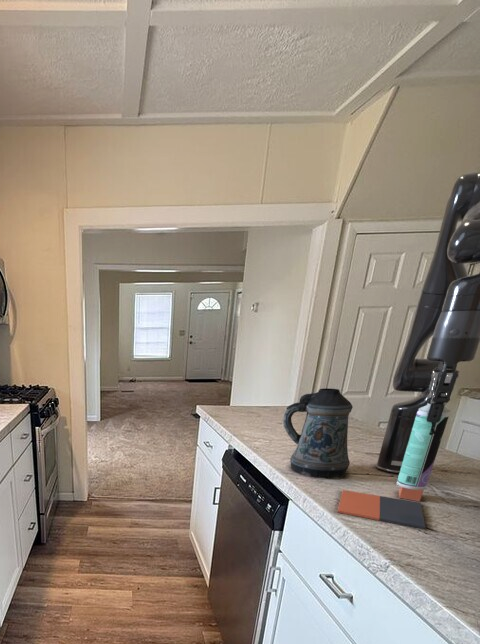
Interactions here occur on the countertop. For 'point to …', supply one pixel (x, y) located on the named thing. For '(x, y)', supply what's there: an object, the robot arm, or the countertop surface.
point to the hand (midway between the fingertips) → (431, 419)
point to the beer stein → (320, 434)
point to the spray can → (421, 450)
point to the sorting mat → (382, 509)
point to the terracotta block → (410, 494)
